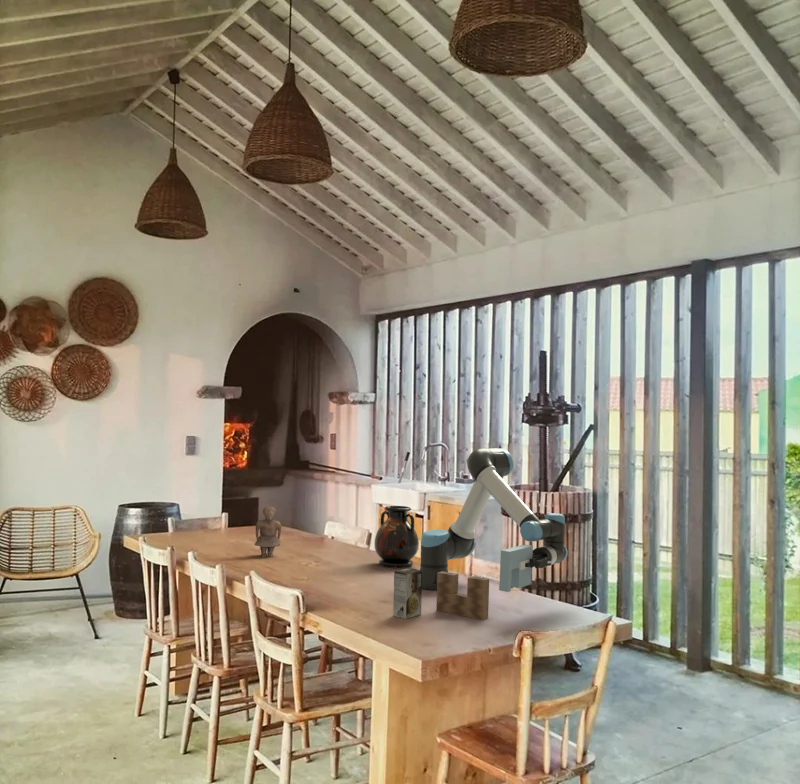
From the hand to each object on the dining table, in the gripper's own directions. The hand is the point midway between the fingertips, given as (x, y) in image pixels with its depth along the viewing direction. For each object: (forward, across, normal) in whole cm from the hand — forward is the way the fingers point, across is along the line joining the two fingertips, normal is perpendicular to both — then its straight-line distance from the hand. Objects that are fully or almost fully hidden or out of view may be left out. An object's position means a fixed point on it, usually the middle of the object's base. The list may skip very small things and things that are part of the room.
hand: (514, 565), depth 284 cm
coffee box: (+19, +32, -21) cm, 43 cm away
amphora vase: (-57, +92, -22) cm, 110 cm away
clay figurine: (-30, +152, -23) cm, 157 cm away
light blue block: (-1, 0, -8) cm, 8 cm away
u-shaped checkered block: (+5, +18, -20) cm, 28 cm away
